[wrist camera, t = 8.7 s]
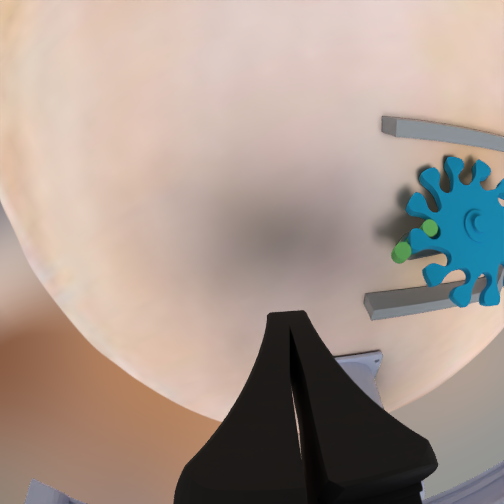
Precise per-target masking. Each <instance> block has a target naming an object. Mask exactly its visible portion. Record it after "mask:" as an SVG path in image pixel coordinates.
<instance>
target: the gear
mask: <svg viewBox="0 0 504 504" xmlns="http://www.w3.org/2000/svg"><path fill="white" fill-rule="evenodd" d="M463 168H464V163H463V161H462V159H460V158H456V157H448V158H447V160H446V162H445V164H444V169H445V171H446V173H447V174H448V177H449V180H450V192H449V193H445V192H443V191H442V190H441V188H440V186H439V181H440V174H439V172H438V170H437V169H436V168H435V167H433V168H429V169H427V170H425V171H423V172H422V173H421V175H420V178H419V180H420V183H421V185H422V186H423V187H425V188H426V189H427V190H428V191H429V192H430V193H431V194H432V195H433V197H434V199H435V201H436V204H437V207H438V212H436V213H435V212H432V211H430V210H429V208H428V206H427V203H426V200H425V198H424V196H423V195H422V194H420V193H418V192H415V193H414V194H413V195H412V197H411V199H410V201H409V202H408V204H407V207H406V209H405V210H406V212H407V213H408V214H409V215H411V216H415V217H419V218H422V219H424V220H426V221H425V222H424V223H423V224H422V225H421V227H420V228H414V229H412V230H411V231H410V233H406V234H405V235H403V237H402V238H401V239H400V241H399V243H398V244H397V245H396V246H395V248H394V249H393V251H392V253H391V256H392V259H393V261H394V262H396V263H403V262H404V261H405V260H406V259H408V260H412V259H417V258H422V257H427V256H432V255H436V254H441V253H444V254H445V255H446V257H447V265H446V266H441V265H439V264H435V263H432V264H430V265H428V266H426V267H425V268H424V269H423V270H422V272H423V276H424V279H425V281H426V283H427V285H428V287H434V286H437V285H439V284H440V283H441V282H442V281H443V279H444V278H445V276H446V275H447V274H448V273H449V272H451V271H454V270H458V269H460V270H462V271H463V272H464V273H465V275H466V280H465V283H464V284H463V285H461V286H458V287H455V288H453V289H452V290H451V291H450V293H449V299H450V300H451V301H452V302H453V303H454V304H455V305H457V306H458V307H460V308H461V307H466V306H467V305H468V304H469V303H470V300H471V293H472V289H473V286H474V284H475V282H476V280H477V279H478V277H479V276H480V275H481V274H484V275H485V277H486V279H487V284H486V287H485V288H484V289H483V290H482V292H481V293H480V296H479V303H480V305H483V306H493V305H498V304H499V302H500V294H499V291H498V286H497V274H498V268H499V264H501V265H502V266H503V268H504V207H503V206H501V205H500V203H499V201H498V197H499V198H501V199H503V200H504V179H502V180H501V182H500V183H499V184H498V185H497V187H496V189H494V190H489V191H486V190H484V189H483V188H482V187H481V185H480V181H484V180H485V179H486V178H487V177H488V176H489V175H490V173H491V169H490V167H489V166H488V165H486V164H485V163H484V162H482V161H481V160H477V161H476V163H475V164H474V166H473V167H472V181H471V183H470V184H469V185H464V184H462V183H461V182H460V180H459V177H458V175H459V174H460V172H461V171H462V169H463ZM503 286H504V277H503Z"/></svg>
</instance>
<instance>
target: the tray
mask: <svg viewBox="0 0 504 504" xmlns="http://www.w3.org/2000/svg"><path fill="white" fill-rule="evenodd" d="M382 132H384V133H387V134H389V135H392V136H395V137H404V138H415V139H425V140H434V141H442V142H450V143H457V144H464V145H470V146H476V147H482V148H487V149H492V150H497V151H502V152H504V136H501V135H497V134H493V133H489V132H484V131H480V130H475V129H470V128H465V127H460V126H455V125H449V124H443V123H437V122H430V121H423V120H415V119H407V118H397V117H386V116H382ZM503 277H504V268H503V266H502V265H501V264H499V268H498V274H497V286H498V291H499V294H500V292H501V289H502V287H503ZM464 283H465V281H459V282H453V283H446V284H439V285H437V286H434V287H428V286H425V287H417V288H410V289H402V290H394V291H385V292H376V293H367V294H366V295H365V300H364V305H365V307H366V310H367V312H368V314H369V316H370V319H371V321H372V320H379V319H386V318H393V317H400V316H406V315H412V314H418V313H424V312H429V311H435V310H440V309H446V308H451V307H456V306H457V305H455V304H454V303H453V302H452V301H451V300H450V299H449V293H450V291H451V290H452V289H453V288H455V287H458V286H461V285H463V284H464ZM486 284H487V279H486V277H484V278H478V279H477V280H476V282H475V284H474V286H473V289H472V293H471V300H470V303H475V302H479V296H480V293H481V292H482V290H483V289H484V288H485V287H486ZM470 303H469V304H470Z"/></svg>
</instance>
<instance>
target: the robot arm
mask: <svg viewBox="0 0 504 504" xmlns="http://www.w3.org/2000/svg"><path fill="white" fill-rule="evenodd" d="M382 357H383V354H382V352H380V351H378V352H372V353H366V354H359V355H352V356H345V357H337V358H334V357H333V355H332V354H331V353H330V351H329V350H328V348H327V347H326V346H325V344H324V343H323V341H322V340H321V338H320V337H319V335H318V333H317V332H316V330H315V328H314V327H313V325H312V323H311V321H310V319H309V317H308V315H307V313H306V312H305V311H304V310H300V311H286V312H272V313H269V314H268V315H267V323H266V329H265V334H264V338H263V341H262V344H261V347H260V350H259V353H258V356H257V359H256V361H255V364H254V366H253V369H252V371H251V373H250V376H249V378H248V380H247V382H246V384H245V386H244V388H243V390H242V391H241V393H240V395H239V397H238V399H237V400H236V402H235V404H234V405H233V407H232V408H231V410H230V412H229V413H228V415H227V416H226V418H225V419H224V421H223V422H222V424H221V425H220V426H219V427H218V429H217V430H216V431H215V433H214V434H213V435H212V436H211V438H210V439H209V440H208V441H207V443H206V444H205V445H204V446H203V447H202V448H201V449H200V451H199V452H198V453H197V454H196V455H195V456H194V457H193V458H192V459H191V460H190V461H189V462H188V463H187V464H186V465H185V467H184V469H183V471H182V473H181V475H180V478H179V480H178V483H177V486H176V490H175V495H174V504H504V460H503V461H502V462H500V463H498V464H497V465H495V466H493V467H492V468H490V469H488V470H487V471H485V472H483V473H481V474H479V475H477V476H476V477H474V478H472V479H470V480H468V481H466V482H464V483H462V484H460V485H458V486H455V487H453V488H451V489H449V490H447V491H444V492H442V493H440V494H437V495H435V496H432V497H430V498H427V499H425V500H424V497H425V490H424V483H423V480H424V479H425V478H427V477H428V476H429V475H431V474H432V473H433V472H434V471H435V470H436V469H437V467H438V462H437V459H436V456H435V453H434V451H433V449H432V447H431V445H430V443H429V441H428V440H427V439H425V438H424V437H422V436H420V435H419V434H417V433H415V432H414V431H412V430H411V429H409V428H408V427H406V426H405V425H403V424H402V423H401V422H399V421H398V420H397V419H395V418H394V417H392V416H391V415H390V414H389V413H388V412H386V411H385V410H384V407H383V404H382V401H381V398H380V395H379V392H378V388H377V385H376V382H375V376H376V374H377V371H378V368H379V366H380V363H381V360H382ZM291 387H292V389H291ZM292 392H293V397H292ZM293 398H294V403H295V408H296V413H297V418H298V424H299V431H300V444H301V453H300V447H299V440H298V433H297V426H296V419H295V412H294V404H293ZM301 458H302V460H301ZM25 504H87V503H84V502H81V501H79V500H76V499H74V498H71V497H69V496H68V495H66V494H65V493H63V492H61V491H59V490H57V489H55V488H53V487H51V486H48V485H46V484H44V483H42V482H40V481H38V480H36V479H31V483H30V486H29V489H28V493H27V496H26V500H25Z"/></svg>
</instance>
